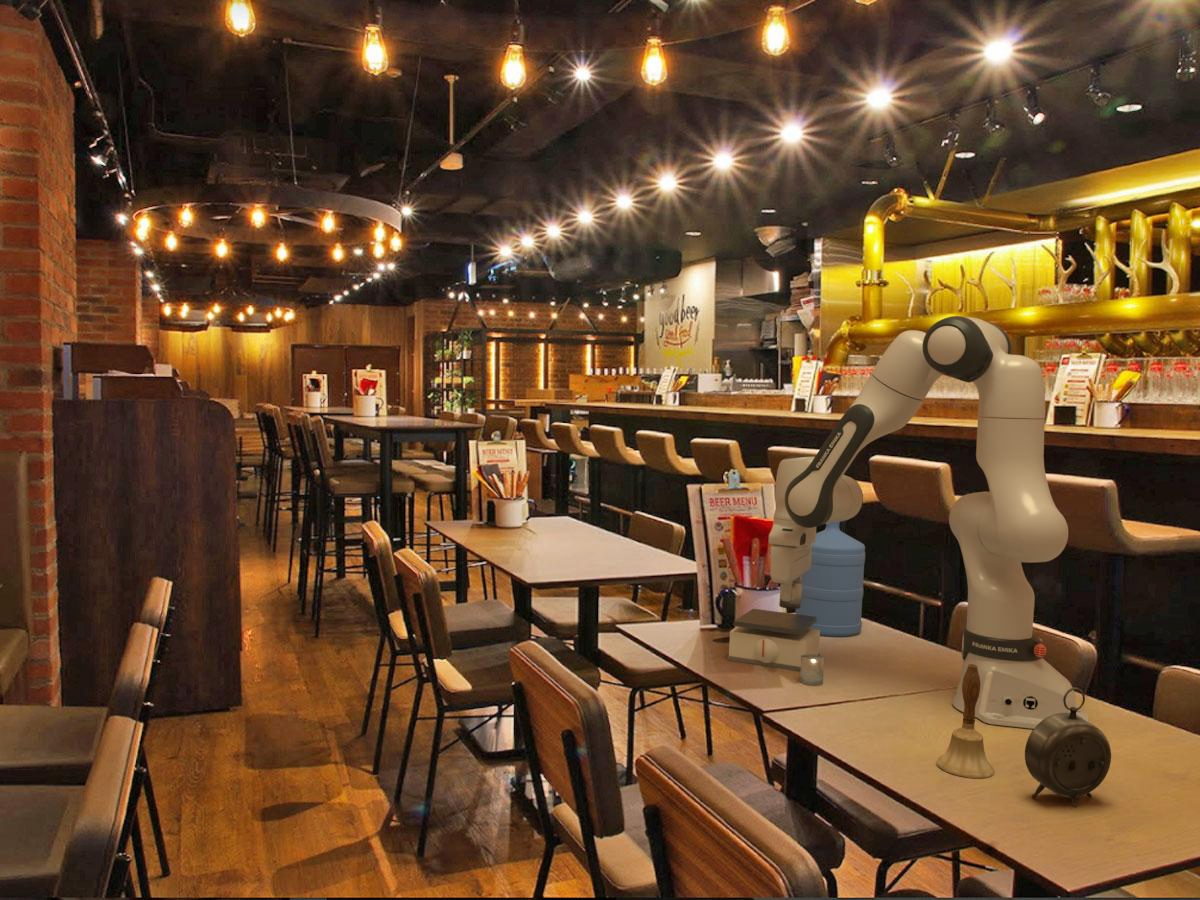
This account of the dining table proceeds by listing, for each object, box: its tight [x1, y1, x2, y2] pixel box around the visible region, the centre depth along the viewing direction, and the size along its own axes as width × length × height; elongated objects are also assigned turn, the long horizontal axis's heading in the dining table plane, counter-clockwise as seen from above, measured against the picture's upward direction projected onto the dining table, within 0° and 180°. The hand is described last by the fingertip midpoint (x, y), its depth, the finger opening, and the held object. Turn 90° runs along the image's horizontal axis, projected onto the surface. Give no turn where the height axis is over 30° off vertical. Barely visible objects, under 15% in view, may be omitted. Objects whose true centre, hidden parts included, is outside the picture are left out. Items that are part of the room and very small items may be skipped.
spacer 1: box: [778, 581, 802, 610], centre depth 208 cm, size 4×4×5 cm
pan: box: [733, 608, 817, 635], centre depth 209 cm, size 14×14×2 cm
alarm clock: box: [1024, 687, 1112, 808], centre depth 139 cm, size 11×5×16 cm, turn 99°
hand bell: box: [936, 664, 995, 779], centre depth 151 cm, size 8×8×16 cm
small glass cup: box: [799, 654, 825, 687], centre depth 193 cm, size 4×4×5 cm
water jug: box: [794, 521, 866, 638], centre depth 237 cm, size 16×16×28 cm
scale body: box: [726, 626, 821, 672], centre depth 209 cm, size 17×13×6 cm
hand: (790, 598), depth 208 cm, fingers closed on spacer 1, 4 cm apart
